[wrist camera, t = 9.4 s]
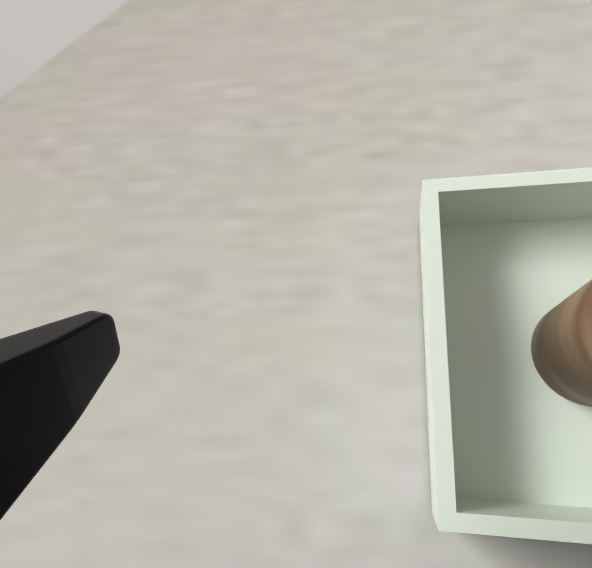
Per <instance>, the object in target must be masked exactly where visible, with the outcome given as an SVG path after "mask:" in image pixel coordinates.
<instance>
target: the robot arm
mask: <svg viewBox="0 0 592 568" xmlns="http://www.w3.org/2000/svg"><path fill="white" fill-rule="evenodd" d="M119 353H120V345H119V341H118V337H117V332H116V328H115V323H114V320H113V318H112V317H111V315H109V314H106V313H101V312H97V311H88V312H85V313H81V314H78V315H75V316H72V317H69V318H66V319H62V320H59V321H56V322H53V323H50V324H47V325H43V326H40V327H37V328H34V329H31V330H27V331H24V332H21V333H18V334H15V335H12V336H8V337H5V338H2V339H0V520H1V519H2V517H3V516H4V515H5V513H6V512H7V511H8V510H9V508H10V507H11V506H12V505H13V503H14V502H15V501H16V499H17V498H18V497H19V496H20V494H21V493H22V492H23V491H24V489H25V488H26V487H27V485H28V484H29V483H30V482H31V480H32V479H33V478H34V476H35V475H36V474H37V473H38V471H39V470H40V469H41V468H42V466H43V465H44V464H45V462H46V461H47V460H48V459H49V457H50V456H51V455H52V454H53V452H54V451H55V450H56V448H57V447H58V446H59V445H60V443H61V442H62V441H63V440H64V438H65V437H66V436H67V434H68V433H69V432H70V430H71V429H72V428H73V426H74V425H75V424H76V422H77V421H78V419H79V418H80V417H81V415H82V414H83V412H84V411H85V409H86V407H87V406H88V404H89V403H90V401H91V400H92V398H93V397H94V395H95V393H96V392H97V390H98V389H99V387H100V386H101V384H102V383H103V381H104V379H105V378H106V376H107V375H108V373H109V372H110V370H111V369H112V367H113V365H114V364H115V362H116V361H117V359H118V356H119Z"/></svg>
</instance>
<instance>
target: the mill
mask: <svg viewBox="0 0 592 568" xmlns="http://www.w3.org/2000/svg"><path fill="white" fill-rule="evenodd" d="M531 354H532V359H533V362H534V365H535V368H536V370H537V372H538V373H539V375H540V377H541V378H542V379H543V381H544V382H545V383H546V384H547V385H548V386H549V387H550V388H551V389H552V390H553V391H554V392H556V393H557V394H558V395H560V396H562V397H563V398H565V399H567V400H569V401H572V402H574V403H577V404H580V405H585V406H591V407H592V279H591V280H590V281H589V282H587V283H586V284H585V285H583V286H582V287H581V288H579V289H578V290H577V291H575V292H574V293H573V294H571V295H570V296H569V297H567V298H566V299H565V300H563V301H562V302H561V303H559V304H558V305H557V306H555V307H554V308H553V309H551V310H550V311H549V312H548V313H546V314H545V315H544V316H543V317H542V318H541V320H540V321H539V322H538V324H537V326H536V327H535V330H534V332H533V335H532V340H531Z"/></svg>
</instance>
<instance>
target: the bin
mask: <svg viewBox="0 0 592 568" xmlns="http://www.w3.org/2000/svg"><path fill="white" fill-rule="evenodd" d="M419 229H420V252H421V275H422V298H423V321H424V345H425V368H426V391H427V414H428V437H429V460H430V483H431V506H432V512H433V515H434V518H435V521H436V524H437V527H438V530H439V531H446V532H458V533H469V534H480V535H492V536H503V537H514V538H526V539H537V540H548V541H560V542H571V543H582V544H592V407H591V406H585V405H580V404H577V403H574V402H572V401H569V400H567V399H565V398H563V397H562V396H560V395H558V394H557V393H556V392H554V391H553V390H552V389H551V388H550V387H549V386H548V385H547V384H546V383H545V382H544V381H543V379H542V378H541V377H540V375H539V373H538V372H537V370H536V368H535V365H534V362H533V359H532V354H531V340H532V335H533V332H534V330H535V327H536V326H537V324H538V322H539V321H540V320H541V318H542V317H543V316H544V315H545V314H546V313H548V312H549V311H550V310H551V309H553V308H554V307H555V306H557V305H558V304H559V303H561V302H562V301H563V300H565V299H566V298H567V297H569V296H570V295H571V294H573V293H574V292H575V291H577V290H578V289H579V288H581V287H582V286H583V285H585V284H586V283H587V282H589V281H590V280H591V279H592V167H589V168H576V169H562V170H549V171H535V172H522V173H508V174H495V175H481V176H468V177H455V178H441V179H428V180H422V191H421V203H420V215H419Z"/></svg>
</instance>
